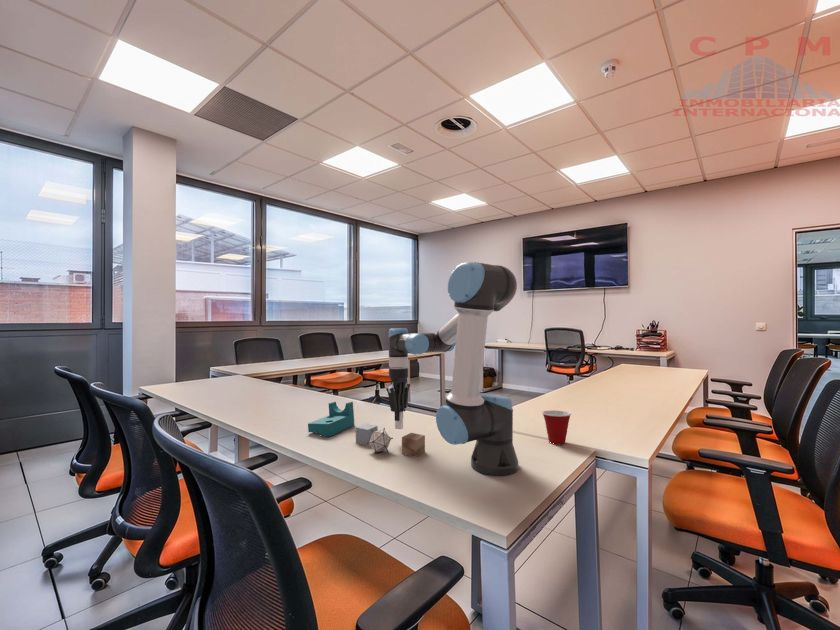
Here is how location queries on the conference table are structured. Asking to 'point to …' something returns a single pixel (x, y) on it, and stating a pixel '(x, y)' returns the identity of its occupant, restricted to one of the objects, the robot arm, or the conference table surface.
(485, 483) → the conference table surface
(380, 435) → the grey spiky polyhedron
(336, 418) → the teal l-shaped bracket
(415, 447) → the walnut block
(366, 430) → the slate-grey block
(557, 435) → the plastic cup
